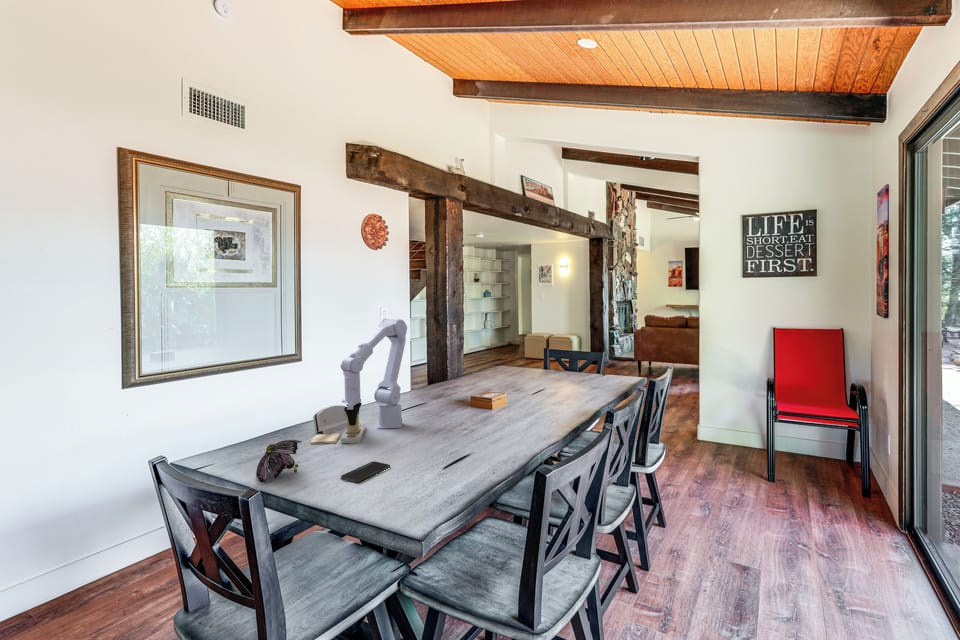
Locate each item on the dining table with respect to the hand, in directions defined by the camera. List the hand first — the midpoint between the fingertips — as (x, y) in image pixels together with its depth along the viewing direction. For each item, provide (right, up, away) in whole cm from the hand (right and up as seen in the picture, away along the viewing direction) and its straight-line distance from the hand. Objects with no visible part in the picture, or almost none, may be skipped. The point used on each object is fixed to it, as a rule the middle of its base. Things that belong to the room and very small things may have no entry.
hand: (353, 423), depth 189 cm
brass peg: (0, -3, 0) cm, 3 cm away
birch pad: (-10, -5, -3) cm, 12 cm away
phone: (+13, -8, -36) cm, 39 cm away
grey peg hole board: (0, -5, +1) cm, 5 cm away
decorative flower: (-13, -8, -37) cm, 40 cm away
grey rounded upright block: (-11, -5, +13) cm, 18 cm away
